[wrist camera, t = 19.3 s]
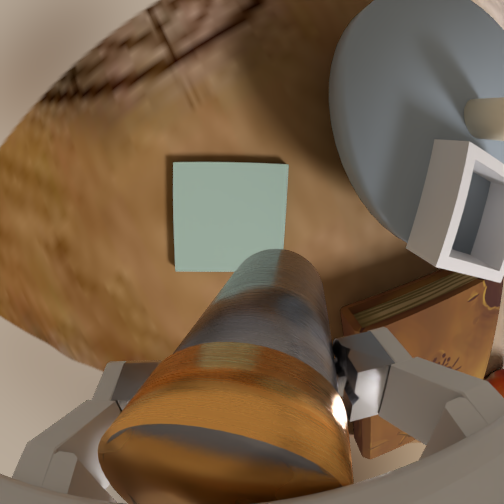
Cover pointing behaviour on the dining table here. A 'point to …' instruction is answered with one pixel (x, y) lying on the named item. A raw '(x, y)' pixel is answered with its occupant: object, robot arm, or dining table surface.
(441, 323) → the diary
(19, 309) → the dining table surface
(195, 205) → the mat
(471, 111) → the dial
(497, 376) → the tomato
